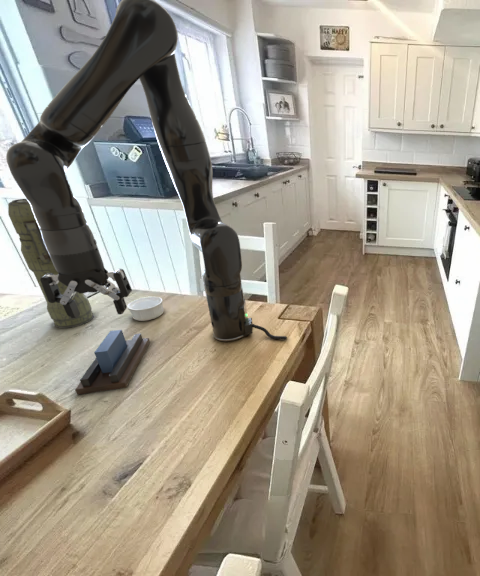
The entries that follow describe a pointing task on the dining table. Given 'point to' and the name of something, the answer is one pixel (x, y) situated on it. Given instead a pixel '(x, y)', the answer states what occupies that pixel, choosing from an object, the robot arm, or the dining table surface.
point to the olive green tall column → (44, 263)
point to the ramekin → (146, 308)
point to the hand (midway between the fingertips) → (99, 314)
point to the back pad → (110, 350)
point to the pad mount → (120, 373)
